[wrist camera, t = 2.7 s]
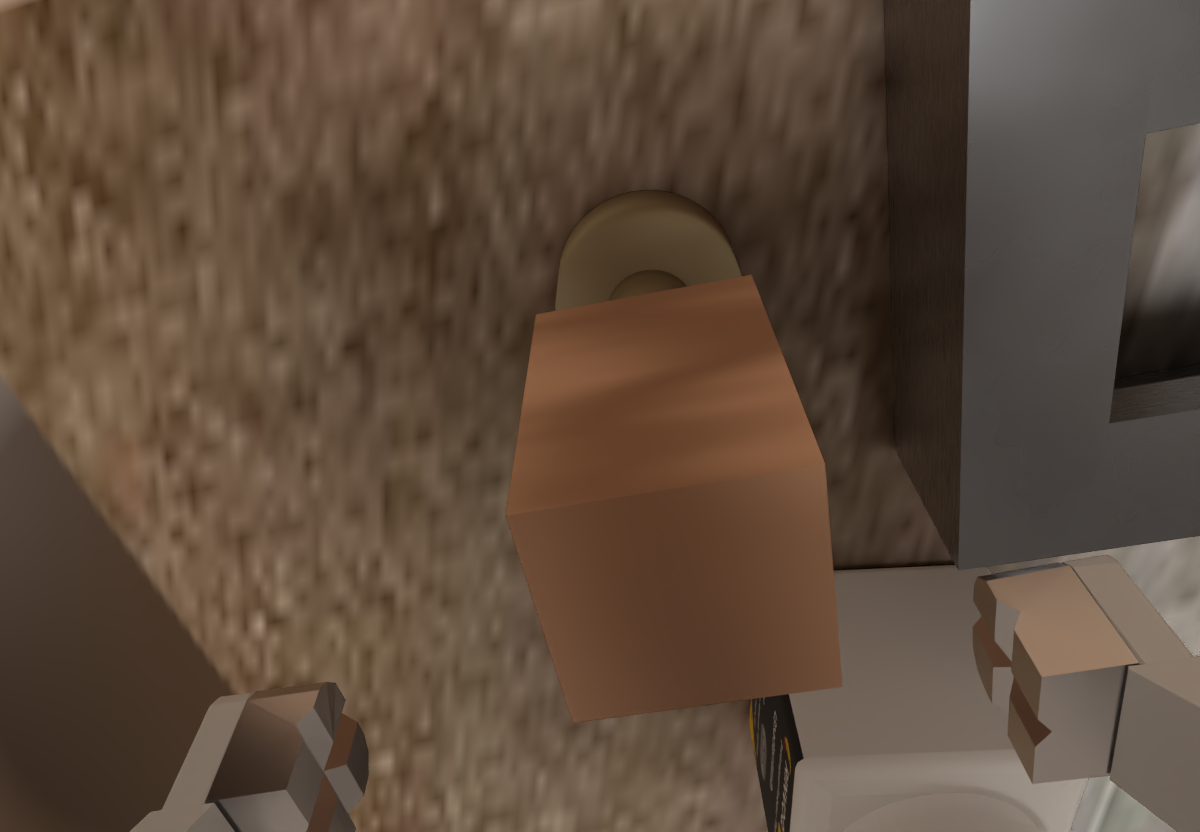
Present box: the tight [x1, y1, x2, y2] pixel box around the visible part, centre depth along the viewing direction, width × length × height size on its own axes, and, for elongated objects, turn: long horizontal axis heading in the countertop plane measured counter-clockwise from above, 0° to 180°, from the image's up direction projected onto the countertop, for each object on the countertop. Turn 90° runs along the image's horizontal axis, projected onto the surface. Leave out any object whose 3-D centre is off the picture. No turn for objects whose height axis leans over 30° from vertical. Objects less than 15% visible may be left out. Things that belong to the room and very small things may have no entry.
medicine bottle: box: [749, 565, 1089, 832], centre depth 23 cm, size 7×7×12 cm
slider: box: [506, 190, 842, 723], centre depth 17 cm, size 4×4×12 cm
